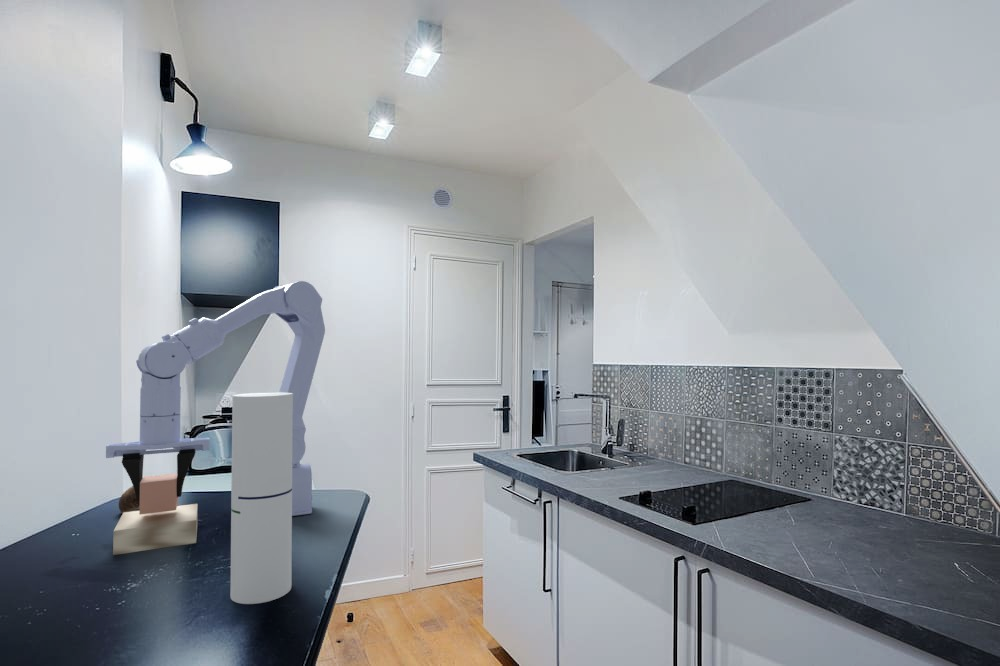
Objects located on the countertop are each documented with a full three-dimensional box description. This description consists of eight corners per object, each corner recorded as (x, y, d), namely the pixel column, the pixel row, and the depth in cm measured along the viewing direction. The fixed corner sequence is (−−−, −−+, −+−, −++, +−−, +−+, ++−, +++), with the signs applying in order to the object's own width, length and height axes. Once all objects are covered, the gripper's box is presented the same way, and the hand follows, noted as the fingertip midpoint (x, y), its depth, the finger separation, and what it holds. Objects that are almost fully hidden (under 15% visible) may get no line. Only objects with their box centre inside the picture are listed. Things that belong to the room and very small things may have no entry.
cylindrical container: (269, 606, 66) (271, 396, 67) (217, 601, 67) (219, 396, 68) (302, 581, 73) (303, 392, 74) (254, 577, 74) (256, 392, 75)
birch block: (197, 526, 98) (197, 503, 98) (196, 545, 88) (196, 519, 88) (123, 536, 93) (123, 512, 93) (113, 557, 83) (113, 530, 83)
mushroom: (180, 489, 110) (158, 466, 108) (153, 515, 102) (129, 491, 101) (153, 505, 112) (131, 483, 110) (125, 532, 104) (101, 509, 103)
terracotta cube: (177, 502, 94) (178, 473, 94) (175, 510, 90) (176, 479, 90) (143, 506, 92) (143, 476, 92) (139, 514, 87) (139, 482, 87)
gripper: (102, 420, 84) (100, 509, 84) (209, 414, 91) (208, 497, 90) (111, 415, 91) (109, 498, 90) (210, 410, 97) (209, 488, 97)
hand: (159, 497), depth 91 cm, fingers closed on terracotta cube, 5 cm apart
